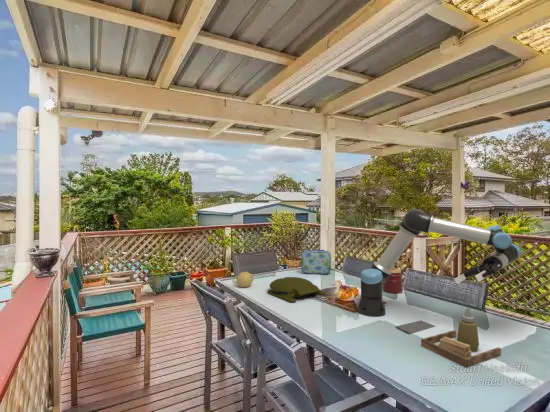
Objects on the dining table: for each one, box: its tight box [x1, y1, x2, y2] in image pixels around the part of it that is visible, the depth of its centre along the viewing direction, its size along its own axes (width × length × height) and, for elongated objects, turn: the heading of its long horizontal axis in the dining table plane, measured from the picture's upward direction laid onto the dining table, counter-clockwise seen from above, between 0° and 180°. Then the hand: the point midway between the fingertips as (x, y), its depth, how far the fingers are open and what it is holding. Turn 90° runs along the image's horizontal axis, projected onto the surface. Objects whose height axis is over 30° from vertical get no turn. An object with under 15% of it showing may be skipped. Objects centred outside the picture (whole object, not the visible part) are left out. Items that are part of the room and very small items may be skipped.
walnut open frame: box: [420, 329, 502, 368], centre depth 132 cm, size 22×20×4 cm
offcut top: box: [439, 337, 470, 353], centre depth 131 cm, size 4×10×2 cm, turn 36°
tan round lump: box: [236, 271, 254, 288], centre depth 238 cm, size 12×12×11 cm
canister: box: [382, 265, 404, 294], centre depth 223 cm, size 13×13×18 cm
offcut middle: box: [437, 342, 472, 358], centre depth 131 cm, size 5×11×2 cm, turn 34°
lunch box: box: [300, 249, 332, 275], centre depth 278 cm, size 26×11×21 cm, turn 81°
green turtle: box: [266, 276, 327, 304], centre depth 220 cm, size 35×31×10 cm
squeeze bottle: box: [456, 307, 480, 352], centre depth 134 cm, size 8×8×18 cm
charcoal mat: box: [395, 319, 437, 335], centre depth 154 cm, size 18×18×1 cm
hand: (465, 280), depth 153 cm, fingers open, 13 cm apart
